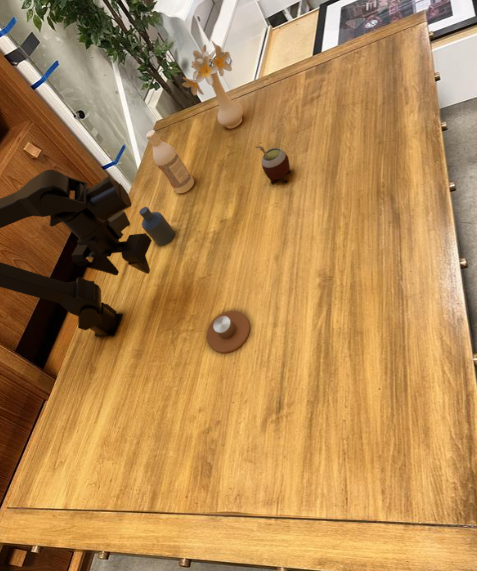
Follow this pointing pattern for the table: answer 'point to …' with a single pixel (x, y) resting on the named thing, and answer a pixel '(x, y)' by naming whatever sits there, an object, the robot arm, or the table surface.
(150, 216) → the bottle
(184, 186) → the bath foam
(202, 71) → the flower vase
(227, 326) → the cap
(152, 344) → the table surface
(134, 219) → the table surface
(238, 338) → the coaster
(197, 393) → the table surface
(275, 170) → the mate gourd
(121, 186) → the robot arm
